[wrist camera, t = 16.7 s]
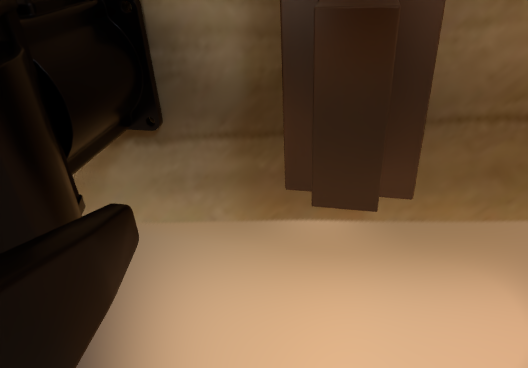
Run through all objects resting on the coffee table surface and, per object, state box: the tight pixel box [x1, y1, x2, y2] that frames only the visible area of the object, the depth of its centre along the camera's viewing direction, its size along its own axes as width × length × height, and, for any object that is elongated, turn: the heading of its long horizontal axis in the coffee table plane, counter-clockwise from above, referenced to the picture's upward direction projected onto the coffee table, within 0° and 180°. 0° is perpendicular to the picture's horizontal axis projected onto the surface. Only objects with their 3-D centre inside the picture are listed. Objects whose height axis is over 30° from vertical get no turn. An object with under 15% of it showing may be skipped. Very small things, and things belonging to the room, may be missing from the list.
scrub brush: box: [280, 0, 446, 212], centre depth 16 cm, size 10×6×6 cm, turn 3°
